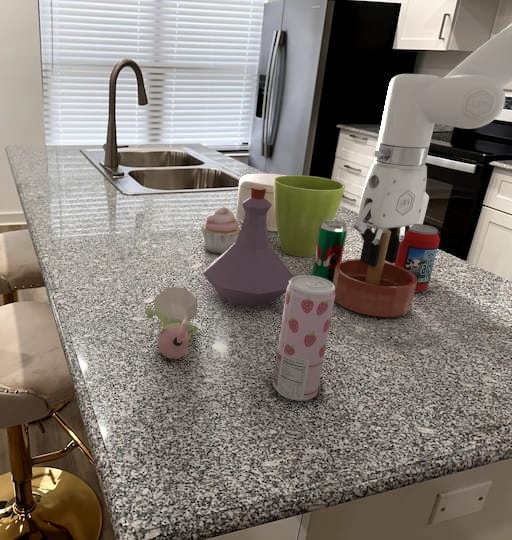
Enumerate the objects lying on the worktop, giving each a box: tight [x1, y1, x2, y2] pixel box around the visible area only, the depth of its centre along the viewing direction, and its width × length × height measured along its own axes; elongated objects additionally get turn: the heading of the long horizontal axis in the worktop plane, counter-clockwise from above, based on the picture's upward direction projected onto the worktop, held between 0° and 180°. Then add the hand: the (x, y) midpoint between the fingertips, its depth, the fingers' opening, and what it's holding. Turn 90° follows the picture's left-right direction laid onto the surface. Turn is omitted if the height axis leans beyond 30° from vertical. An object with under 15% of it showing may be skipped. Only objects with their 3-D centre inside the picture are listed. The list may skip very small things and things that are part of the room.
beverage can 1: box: [272, 274, 335, 402], centre depth 64 cm, size 6×6×15 cm
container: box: [235, 173, 288, 232], centre depth 135 cm, size 18×18×12 cm
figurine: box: [144, 286, 199, 360], centre depth 76 cm, size 9×7×15 cm
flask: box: [202, 186, 296, 309], centre depth 89 cm, size 16×16×20 cm
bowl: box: [333, 258, 417, 318], centre depth 91 cm, size 13×13×6 cm
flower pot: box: [274, 174, 346, 258], centre depth 114 cm, size 15×15×16 cm
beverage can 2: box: [393, 223, 441, 293], centre depth 98 cm, size 7×7×12 cm
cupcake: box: [200, 206, 241, 254], centre depth 114 cm, size 9×9×10 cm
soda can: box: [311, 219, 348, 283], centre depth 99 cm, size 5×5×12 cm
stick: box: [365, 229, 391, 285], centre depth 90 cm, size 2×2×13 cm
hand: (377, 261), depth 89 cm, fingers open, 3 cm apart
